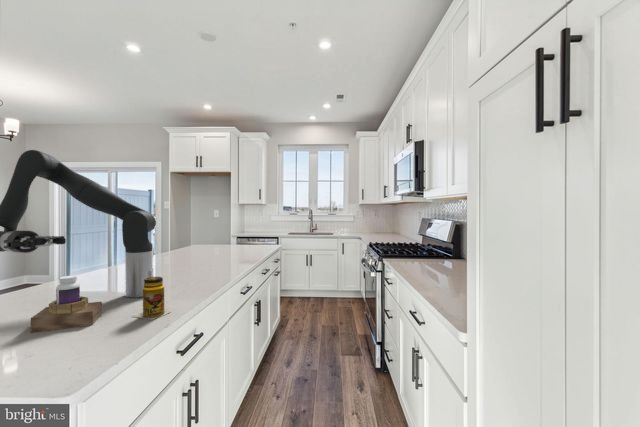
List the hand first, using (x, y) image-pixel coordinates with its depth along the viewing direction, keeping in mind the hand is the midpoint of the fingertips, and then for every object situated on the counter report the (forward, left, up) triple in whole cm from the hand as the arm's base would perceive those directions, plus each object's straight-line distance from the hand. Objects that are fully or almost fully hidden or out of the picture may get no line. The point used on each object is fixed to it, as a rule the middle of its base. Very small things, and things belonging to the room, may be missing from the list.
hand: (48, 242), depth 98 cm
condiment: (-31, +15, -23) cm, 41 cm away
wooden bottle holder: (-9, +13, -23) cm, 28 cm away
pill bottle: (-9, +13, -19) cm, 25 cm away
